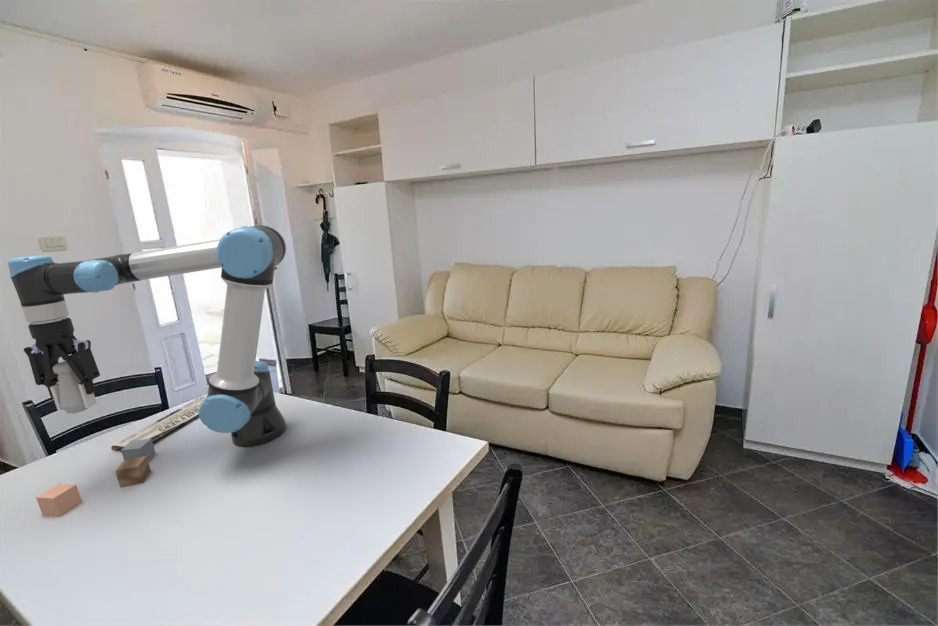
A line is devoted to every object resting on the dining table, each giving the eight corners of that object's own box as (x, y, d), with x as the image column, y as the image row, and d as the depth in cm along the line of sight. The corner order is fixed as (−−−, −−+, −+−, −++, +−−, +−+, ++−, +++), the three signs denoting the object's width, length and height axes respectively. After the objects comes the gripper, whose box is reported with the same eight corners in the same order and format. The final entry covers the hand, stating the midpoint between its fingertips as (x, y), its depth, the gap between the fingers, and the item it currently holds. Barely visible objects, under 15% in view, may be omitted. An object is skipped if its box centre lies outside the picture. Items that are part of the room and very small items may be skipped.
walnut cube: (151, 472, 113) (146, 455, 111) (142, 483, 108) (137, 466, 107) (129, 476, 111) (124, 459, 110) (120, 487, 107) (115, 470, 105)
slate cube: (155, 453, 122) (151, 438, 120) (144, 463, 117) (140, 448, 115) (137, 455, 121) (133, 440, 120) (125, 465, 116) (120, 450, 115)
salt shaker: (74, 415, 103) (58, 367, 100) (57, 415, 104) (40, 366, 101) (99, 404, 109) (84, 358, 106) (82, 404, 110) (67, 358, 107)
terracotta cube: (82, 502, 102) (76, 484, 101) (59, 516, 97) (53, 498, 96) (65, 500, 103) (59, 483, 102) (42, 515, 98) (35, 497, 97)
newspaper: (201, 400, 157) (199, 391, 156) (230, 401, 155) (228, 392, 154) (107, 454, 124) (104, 443, 123) (142, 456, 121) (139, 445, 121)
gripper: (102, 313, 105) (126, 396, 111) (21, 319, 103) (50, 404, 109) (78, 320, 98) (105, 409, 104) (-9, 327, 96) (24, 417, 102)
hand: (77, 406), depth 106 cm, fingers closed on salt shaker, 6 cm apart
